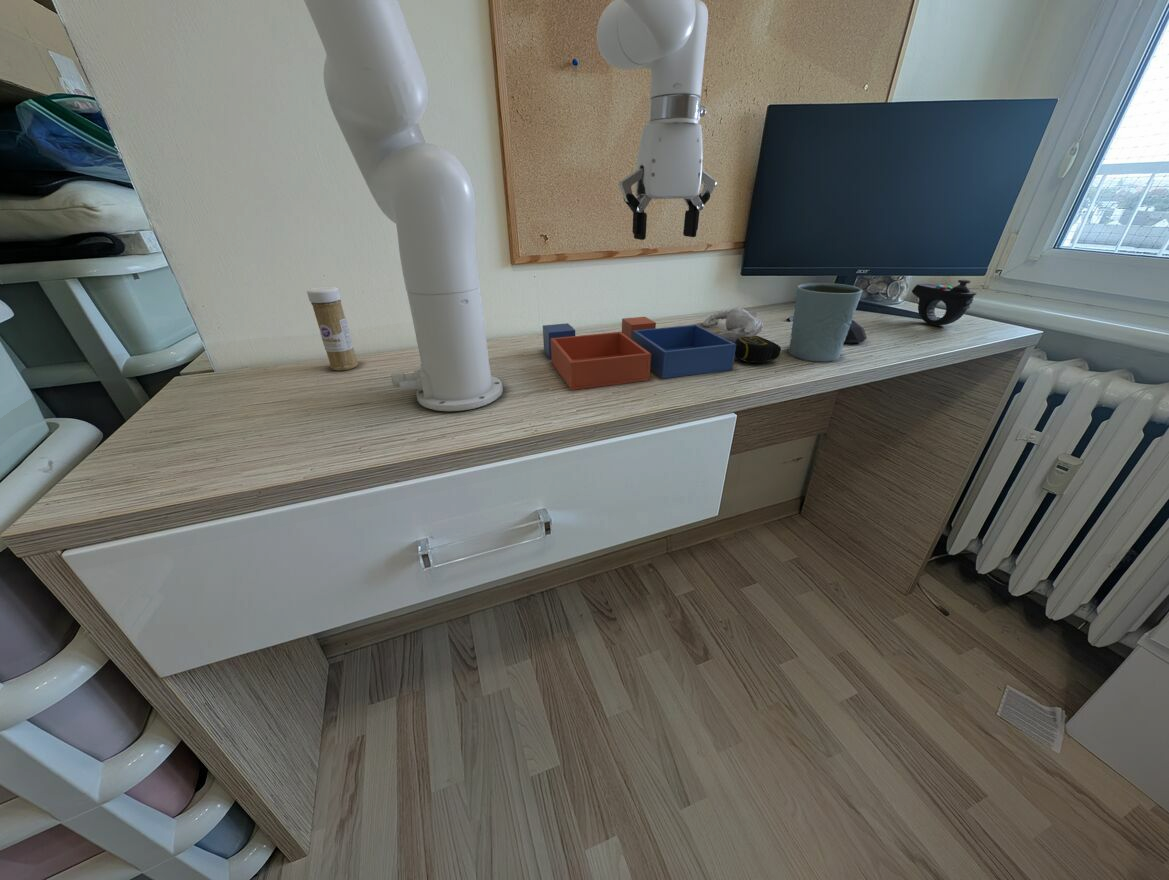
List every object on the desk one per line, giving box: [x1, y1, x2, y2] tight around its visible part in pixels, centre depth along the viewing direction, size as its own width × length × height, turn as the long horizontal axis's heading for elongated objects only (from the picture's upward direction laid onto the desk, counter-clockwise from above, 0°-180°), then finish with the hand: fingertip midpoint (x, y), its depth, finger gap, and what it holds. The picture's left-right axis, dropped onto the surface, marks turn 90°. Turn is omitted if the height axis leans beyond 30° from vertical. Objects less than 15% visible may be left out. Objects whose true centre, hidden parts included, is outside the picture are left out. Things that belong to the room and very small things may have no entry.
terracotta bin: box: [551, 331, 651, 391], centre depth 73 cm, size 13×13×4 cm
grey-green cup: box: [788, 282, 863, 363], centre depth 78 cm, size 10×10×12 cm
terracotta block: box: [621, 316, 657, 340], centre depth 85 cm, size 5×5×5 cm
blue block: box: [542, 322, 576, 360], centre depth 81 cm, size 5×5×5 cm
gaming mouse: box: [844, 319, 868, 344], centre depth 91 cm, size 6×15×4 cm, turn 17°
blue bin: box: [632, 324, 736, 380], centre depth 77 cm, size 13×13×4 cm
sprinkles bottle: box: [306, 285, 359, 371], centre depth 74 cm, size 5×5×13 cm
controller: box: [911, 279, 978, 327], centre depth 97 cm, size 4×12×10 cm, turn 17°
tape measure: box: [734, 335, 782, 364], centre depth 78 cm, size 7×7×4 cm
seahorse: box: [702, 307, 765, 343], centre depth 92 cm, size 5×12×20 cm
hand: (664, 237), depth 75 cm, fingers open, 9 cm apart
